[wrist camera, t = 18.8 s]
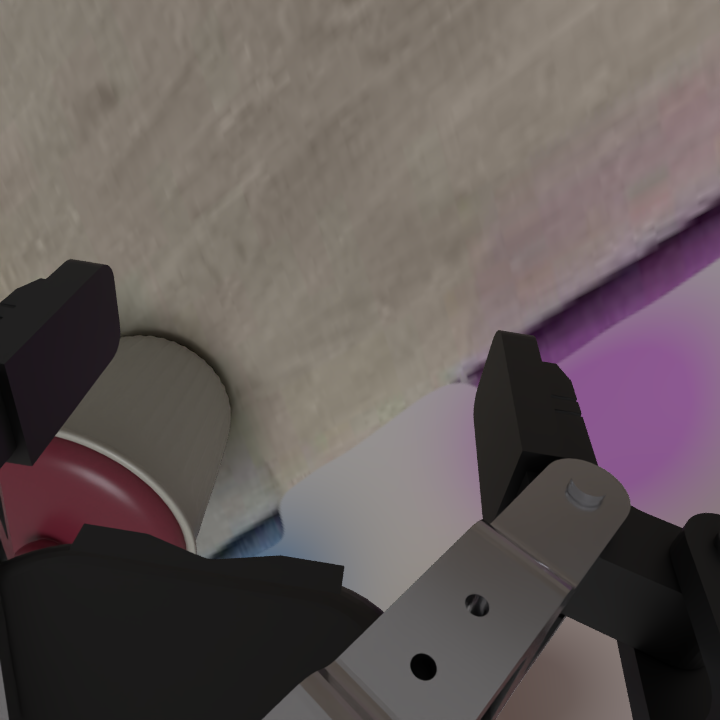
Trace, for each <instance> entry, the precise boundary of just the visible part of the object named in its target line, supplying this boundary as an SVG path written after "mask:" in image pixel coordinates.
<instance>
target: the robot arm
mask: <svg viewBox="0 0 720 720" xmlns="http://www.w3.org/2000/svg"><path fill="white" fill-rule="evenodd" d="M119 341H120V322H119V314H118V306H117V298H116V290H115V282H114V275H113V272H112V269H111V268H110V267H109V266H108V265H104V264H98V263H92V262H86V261H79V260H73V259H70V260H67V261H66V262H65V263H64V264H62V265H61V266H60V267H59V268H58V269H57V270H56V271H55V272H54V273H52V274H51V275H50V276H49V277H48V278H47V279H42V278H40V279H38V280H36V281H34V282H31V283H29V284H27V285H24V286H22V287H20V288H17V289H16V290H15V291H13V292H12V293H11V294H10V295H9V296H8V297H6V298H5V299H4V300H3V301H2V302H1V303H0V469H1V467H2V466H3V465H4V464H5V462H8V463H14V464H20V465H26V466H33V465H34V463H35V462H36V461H37V459H38V458H39V457H40V455H41V454H42V453H43V451H44V450H45V449H46V447H47V446H48V445H49V443H50V442H51V441H52V439H53V438H54V437H55V435H56V434H57V433H58V431H59V430H60V429H61V427H62V426H63V425H64V423H65V422H66V421H67V419H68V418H69V417H70V415H71V414H72V413H73V411H74V410H75V409H76V407H77V406H78V405H79V403H80V402H81V401H82V399H83V398H84V397H85V395H86V394H87V393H88V391H89V390H90V389H91V387H92V386H93V385H94V383H95V382H96V381H97V379H98V378H99V377H100V375H101V374H102V373H103V371H104V370H105V369H106V367H107V366H108V365H109V363H110V362H111V361H112V359H113V358H114V356H115V354H116V352H117V349H118V346H119ZM576 400H577V398H576V395H575V392H574V388H573V385H572V382H571V380H570V379H569V378H568V377H567V376H566V375H565V373H564V372H563V371H562V370H561V369H560V368H559V367H558V365H557V364H554V363H548V362H542V360H541V356H540V352H539V348H538V345H537V341H536V338H535V336H531V335H525V334H519V333H513V332H507V331H501V330H498V331H497V332H496V334H495V336H494V338H493V341H492V344H491V347H490V351H489V354H488V357H487V360H486V363H485V366H484V369H483V373H482V376H481V379H480V382H479V385H478V388H477V392H476V397H475V403H474V427H475V438H476V449H477V460H478V471H479V482H480V493H481V503H482V515H483V519H482V520H480V521H478V522H477V523H476V524H474V525H473V526H472V527H471V528H470V529H469V530H468V531H467V532H466V533H465V534H464V535H463V536H462V537H461V538H460V539H459V540H457V542H455V543H454V545H453V546H451V547H450V548H449V549H448V550H447V551H446V552H445V553H444V554H443V555H442V556H441V557H440V558H439V559H438V560H437V561H436V562H435V563H434V564H433V565H432V566H431V567H430V568H429V569H428V570H427V571H426V572H425V573H424V574H423V575H422V576H421V577H420V578H419V579H418V580H417V581H416V582H415V583H414V584H413V585H412V586H411V587H410V588H409V589H407V590H406V592H405V593H403V594H402V595H401V596H400V597H399V598H398V599H397V600H396V601H395V602H394V603H393V604H392V605H391V606H390V607H389V608H388V609H387V610H386V611H385V612H383V611H382V610H381V609H380V608H378V607H377V606H376V605H374V604H373V603H371V602H370V601H369V600H368V599H366V598H364V597H363V596H361V595H359V594H357V593H356V592H354V591H352V590H350V589H347V588H345V587H343V586H342V579H343V572H344V566H341V565H335V564H329V563H323V562H317V561H311V560H305V559H299V558H292V557H287V556H264V557H248V558H231V559H207V558H204V557H201V556H199V555H196V554H194V553H192V552H189V551H187V550H185V549H182V548H180V547H178V546H175V545H173V544H171V543H168V542H166V541H164V540H161V539H159V538H157V537H154V536H152V535H150V534H146V533H140V532H134V531H128V530H122V529H116V528H110V527H104V526H98V525H91V524H85V523H84V525H83V526H82V528H81V530H80V531H79V533H78V535H77V536H76V538H75V540H74V542H73V543H72V544H63V545H57V546H50V547H46V548H42V549H38V550H34V551H31V552H28V553H25V554H22V555H19V556H16V557H15V555H14V550H13V545H12V540H11V535H10V530H9V524H8V519H7V514H6V509H5V504H4V498H3V493H2V488H1V483H0V720H496V718H497V717H498V715H499V714H500V712H501V710H502V709H503V707H504V706H505V704H506V703H507V701H508V700H509V698H510V696H511V695H512V693H513V692H514V690H515V689H516V688H517V686H518V685H519V683H520V682H521V680H522V679H523V678H524V676H525V674H526V673H527V672H528V670H529V669H530V667H531V666H532V665H533V663H534V662H535V661H536V659H537V658H538V656H539V655H540V653H541V652H542V651H543V649H544V648H545V646H546V645H547V643H548V642H549V641H550V639H551V638H552V636H553V635H554V633H555V632H556V631H557V629H558V628H559V626H560V625H561V624H562V622H563V621H564V619H565V618H566V616H567V617H570V618H572V619H574V620H576V621H578V622H580V623H582V624H584V625H587V626H589V627H591V628H593V629H595V630H597V631H599V632H601V633H603V634H606V635H608V636H610V637H612V638H614V639H616V640H617V643H618V648H619V653H620V658H621V663H622V668H623V673H624V677H625V682H626V687H627V692H628V697H629V702H630V707H631V711H632V717H633V720H720V515H719V514H713V513H702V514H697V515H695V516H693V517H691V518H690V519H689V520H688V522H687V523H686V524H685V526H684V527H683V528H681V527H678V526H676V525H673V524H671V523H668V522H666V521H664V520H661V519H659V518H656V517H654V516H652V515H649V514H647V513H645V512H642V511H640V510H638V509H636V508H635V507H633V506H631V504H630V499H629V495H628V494H627V492H626V490H625V489H624V487H623V485H622V484H621V483H620V482H619V481H618V480H617V479H616V478H615V477H614V476H613V475H612V474H610V473H609V472H607V471H606V470H605V469H603V468H601V467H599V466H598V464H597V461H596V458H595V455H594V451H593V448H592V445H591V442H590V439H589V436H588V432H587V429H586V426H585V423H584V420H583V417H581V410H580V407H579V404H578V402H576Z"/></svg>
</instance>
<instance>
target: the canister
mask: <svg viewBox="0 0 720 720" xmlns="http://www.w3.org/2000/svg"><path fill="white" fill-rule="evenodd" d="M230 416H231V407H230V404H229V397H228V395H227V393H226V390H225V386H224V385H223V384H222V383H221V381H220V378H219V376H218V375H216V373H215V372H214V371H213V368H212V367H210V366H209V365H208V364H207V363H206V362H205V360H204V359H202V358H200V357H199V356H198V355H197V354H196V353H195V352H192V351H190V350H188V349H187V348H186V347H185V346H181V345H179V344H177V343H176V342H175V341H168V340H166V339H165V338H157V337H154V336H142V335H136V336H133V337H132V336H126V337H122V338H120V341H119V346H118V349H117V352H116V354H115V356H114V358H113V359H112V361H111V362H110V363H109V365H108V366H107V367H106V369H105V370H104V371H103V373H102V374H101V375H100V377H99V378H98V379H97V381H96V382H95V383H94V385H93V386H92V387H91V389H90V390H89V391H88V393H87V394H86V395H85V397H84V398H83V399H82V401H81V402H80V403H79V405H78V406H77V407H76V409H75V410H74V411H73V413H72V414H71V415H70V417H69V418H68V419H67V421H66V422H65V423H64V425H63V426H62V427H61V429H60V430H59V431H58V433H57V434H56V435H55V437H54V438H53V439H52V441H51V442H50V443H49V445H48V446H47V447H46V449H45V450H44V451H43V453H42V454H41V455H40V457H39V458H38V459H37V461H36V462H35V463H34V465H33V466H26V465H20V464H14V463H8V462H5V464H4V465H3V466H2V467H1V469H0V483H1V488H2V493H3V498H4V504H5V509H6V514H7V519H8V524H9V530H10V535H11V540H12V545H13V550H14V555H15V557H16V556H19V555H22V554H25V553H28V552H31V551H34V550H38V549H42V548H46V547H50V546H57V545H63V544H72V543H73V542H74V540H75V538H76V536H77V535H78V533H79V531H80V530H81V528H82V526H83V525H84V523H85V524H91V525H98V526H104V527H110V528H116V529H122V530H128V531H134V532H140V533H146V534H150V535H152V536H154V537H157V538H159V539H161V540H164V541H166V542H168V543H171V544H173V545H175V546H178V547H180V548H182V549H185V550H187V551H189V552H192V553H194V554H196V555H197V547H196V538H197V535H198V533H199V530H200V527H201V524H202V520H203V517H204V514H205V511H206V508H207V505H208V502H209V499H210V496H211V493H212V490H213V487H214V484H215V480H216V477H217V474H218V471H219V468H220V464H221V461H222V457H223V454H224V450H225V447H226V443H227V440H228V435H229V430H230V425H231V417H230Z"/></svg>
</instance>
